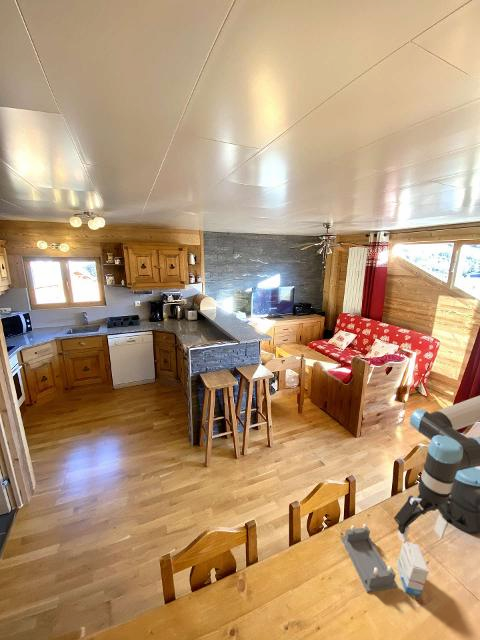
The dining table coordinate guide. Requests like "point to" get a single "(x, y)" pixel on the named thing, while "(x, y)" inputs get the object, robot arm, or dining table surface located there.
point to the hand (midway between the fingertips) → (420, 536)
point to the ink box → (412, 568)
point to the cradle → (368, 560)
